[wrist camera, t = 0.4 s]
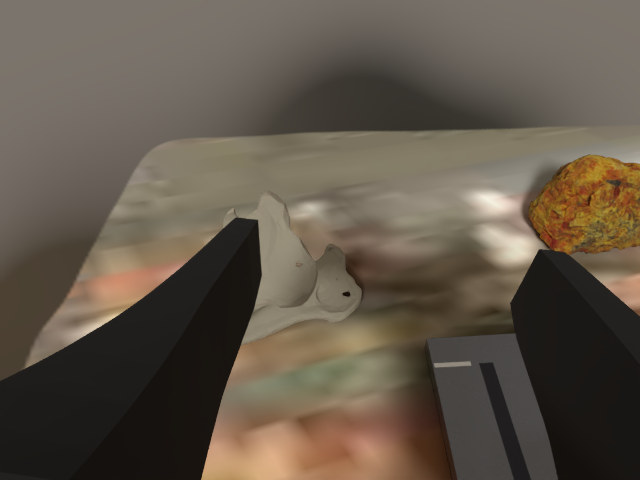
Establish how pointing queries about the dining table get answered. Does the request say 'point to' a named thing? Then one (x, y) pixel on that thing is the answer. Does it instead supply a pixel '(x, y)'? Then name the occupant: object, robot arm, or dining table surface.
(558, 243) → the rock
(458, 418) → the panel
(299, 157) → the dining table surface
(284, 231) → the jawbone
